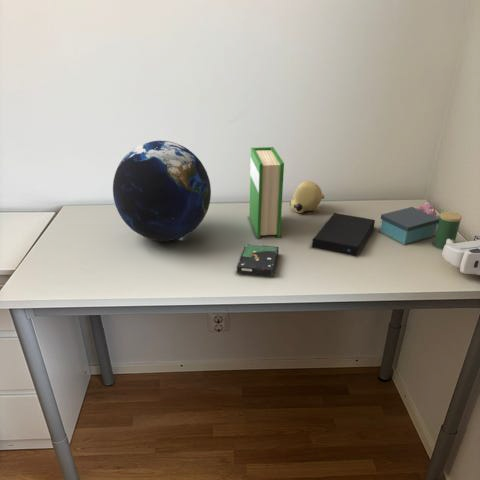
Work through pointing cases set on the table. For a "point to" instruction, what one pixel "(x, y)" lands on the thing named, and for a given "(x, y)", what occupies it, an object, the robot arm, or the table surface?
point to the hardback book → (266, 191)
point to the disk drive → (258, 260)
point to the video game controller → (427, 209)
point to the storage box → (408, 225)
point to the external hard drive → (343, 234)
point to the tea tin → (447, 228)
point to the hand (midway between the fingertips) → (462, 239)
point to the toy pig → (306, 197)
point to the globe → (161, 190)
